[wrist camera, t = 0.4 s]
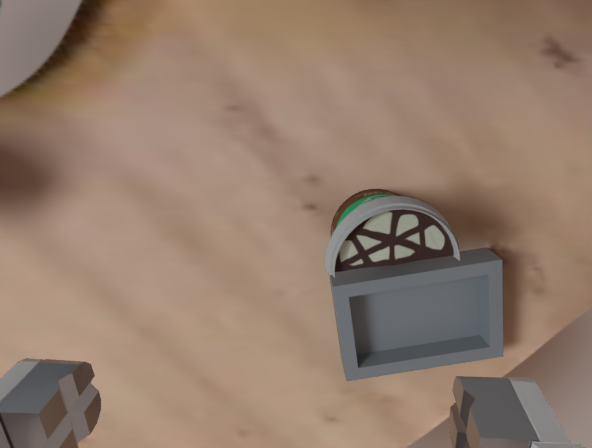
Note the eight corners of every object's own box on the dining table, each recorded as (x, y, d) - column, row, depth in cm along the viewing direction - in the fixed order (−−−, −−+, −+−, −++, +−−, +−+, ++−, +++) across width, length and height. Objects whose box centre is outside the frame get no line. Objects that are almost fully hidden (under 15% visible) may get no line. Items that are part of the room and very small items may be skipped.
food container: (426, 170, 46) (465, 192, 37) (428, 225, 48) (466, 259, 39) (311, 186, 46) (320, 212, 37) (317, 240, 48) (327, 278, 39)
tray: (329, 273, 49) (332, 286, 46) (487, 247, 49) (502, 259, 46) (342, 362, 53) (346, 381, 50) (489, 339, 53) (503, 356, 49)
